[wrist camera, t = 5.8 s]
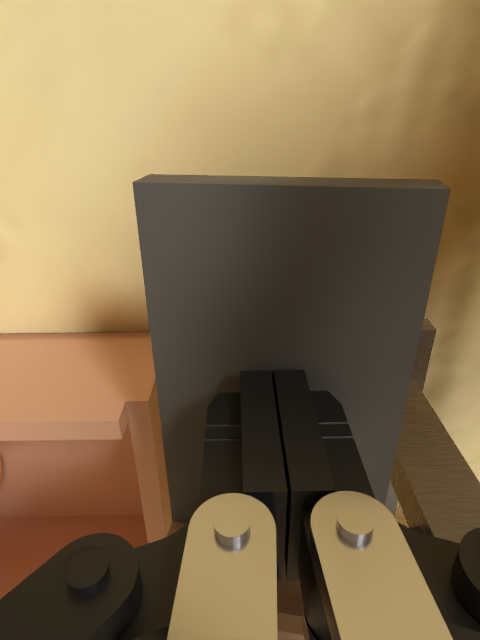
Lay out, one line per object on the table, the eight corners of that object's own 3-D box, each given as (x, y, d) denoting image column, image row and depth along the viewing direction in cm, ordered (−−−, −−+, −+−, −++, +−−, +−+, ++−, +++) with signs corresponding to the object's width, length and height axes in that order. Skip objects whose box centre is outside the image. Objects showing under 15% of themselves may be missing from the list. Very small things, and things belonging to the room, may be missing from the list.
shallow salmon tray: (-123, 335, 19) (-332, 472, 12) (168, 331, 19) (129, 466, 12) (-42, 518, 25) (-153, 686, 18) (185, 515, 25) (166, 682, 18)
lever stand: (427, 318, 19) (608, 527, 10) (384, 518, 25) (472, 767, 16) (314, 320, 19) (388, 530, 10) (298, 519, 25) (335, 769, 16)
